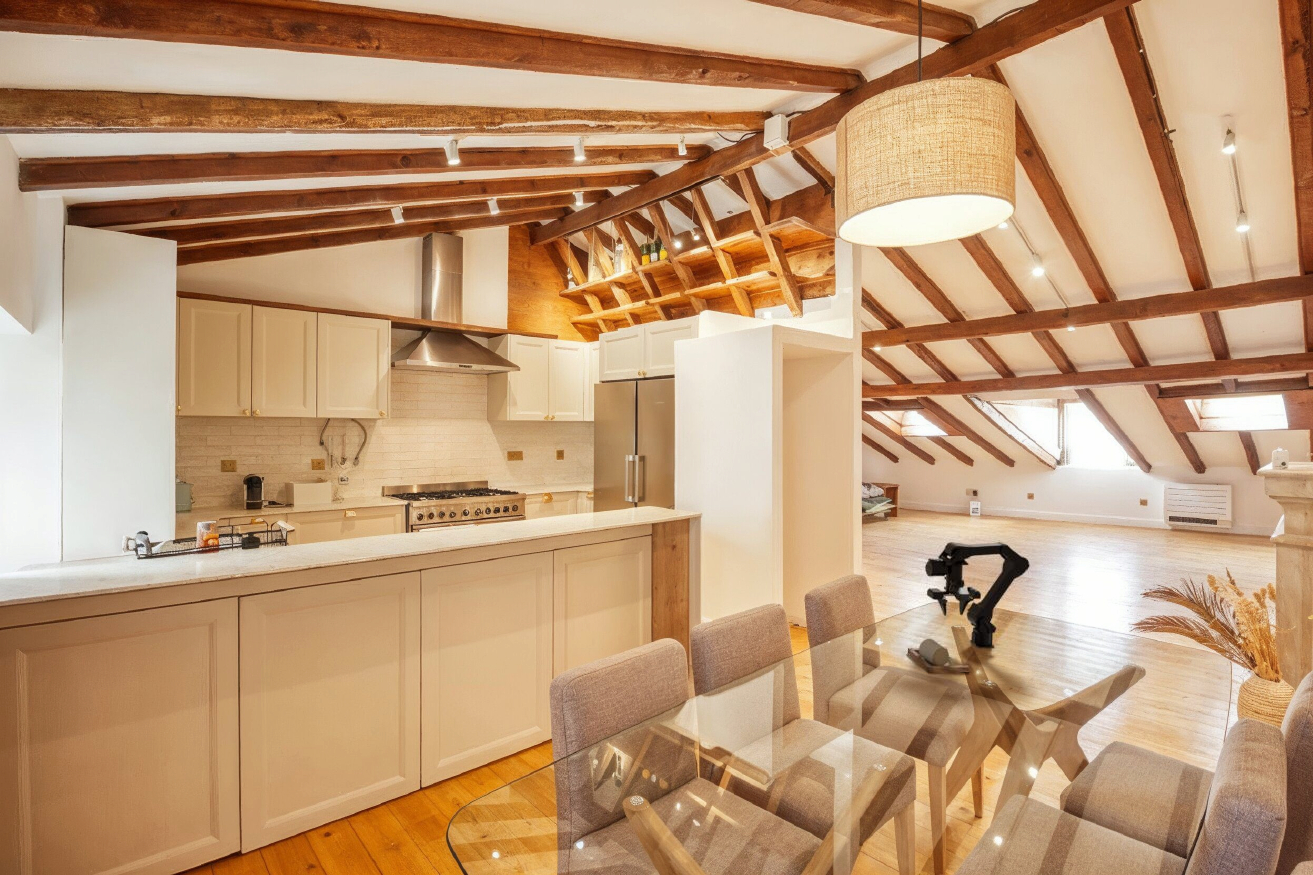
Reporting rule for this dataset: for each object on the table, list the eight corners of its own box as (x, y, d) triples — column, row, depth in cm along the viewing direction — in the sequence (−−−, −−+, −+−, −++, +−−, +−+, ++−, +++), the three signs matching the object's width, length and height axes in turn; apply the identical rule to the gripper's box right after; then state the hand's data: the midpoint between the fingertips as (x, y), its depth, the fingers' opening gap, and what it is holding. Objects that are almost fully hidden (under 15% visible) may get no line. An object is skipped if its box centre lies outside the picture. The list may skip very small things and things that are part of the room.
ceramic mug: (933, 668, 226) (934, 647, 225) (917, 659, 234) (918, 639, 233) (957, 665, 229) (958, 644, 228) (941, 656, 237) (942, 636, 236)
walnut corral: (945, 652, 240) (945, 647, 240) (969, 672, 223) (969, 666, 223) (907, 653, 239) (907, 648, 239) (928, 673, 222) (928, 667, 222)
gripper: (940, 582, 236) (939, 623, 237) (989, 581, 237) (988, 622, 238) (926, 573, 247) (925, 612, 248) (973, 573, 248) (972, 611, 249)
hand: (953, 615), depth 246 cm, fingers open, 6 cm apart
